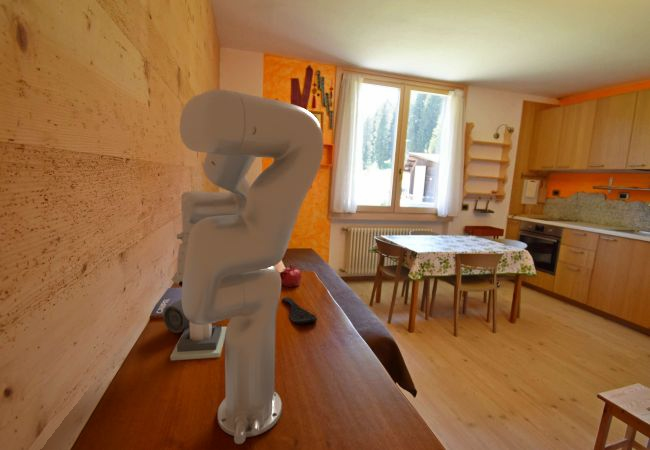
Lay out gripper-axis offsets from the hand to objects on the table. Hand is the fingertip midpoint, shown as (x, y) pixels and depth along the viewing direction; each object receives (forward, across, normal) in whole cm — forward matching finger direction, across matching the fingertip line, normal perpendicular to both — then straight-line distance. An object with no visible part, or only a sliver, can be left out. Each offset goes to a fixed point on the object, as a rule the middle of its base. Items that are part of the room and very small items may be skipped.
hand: (200, 302), depth 83 cm
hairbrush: (+13, +28, +18) cm, 36 cm away
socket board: (+12, 0, 0) cm, 12 cm away
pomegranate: (+13, +28, +45) cm, 54 cm away
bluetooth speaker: (+12, -2, +14) cm, 19 cm away
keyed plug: (+11, 0, 0) cm, 11 cm away
